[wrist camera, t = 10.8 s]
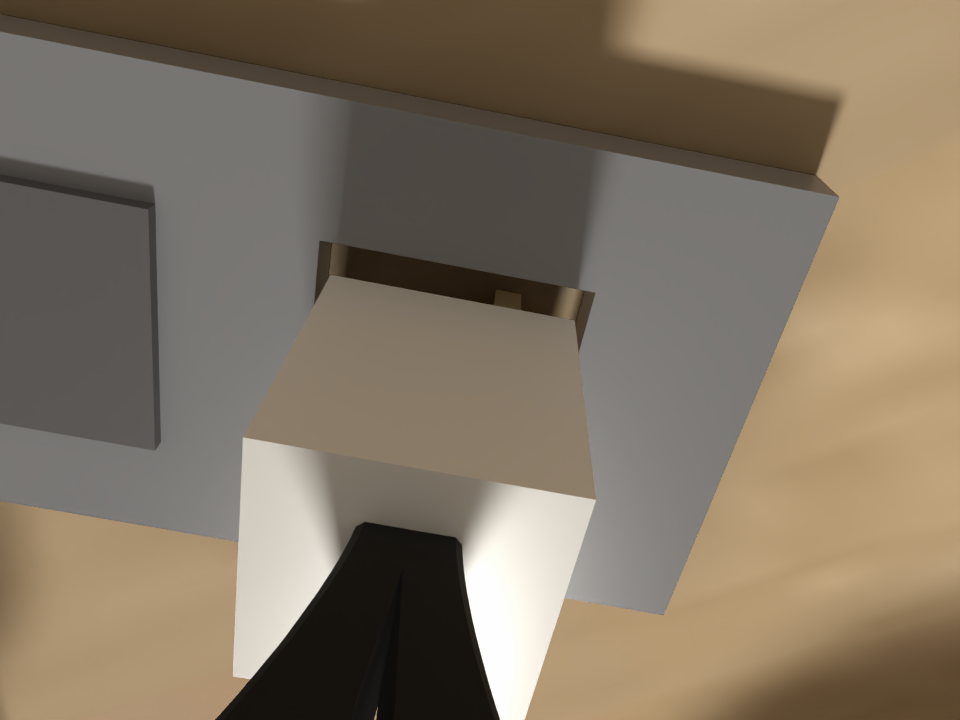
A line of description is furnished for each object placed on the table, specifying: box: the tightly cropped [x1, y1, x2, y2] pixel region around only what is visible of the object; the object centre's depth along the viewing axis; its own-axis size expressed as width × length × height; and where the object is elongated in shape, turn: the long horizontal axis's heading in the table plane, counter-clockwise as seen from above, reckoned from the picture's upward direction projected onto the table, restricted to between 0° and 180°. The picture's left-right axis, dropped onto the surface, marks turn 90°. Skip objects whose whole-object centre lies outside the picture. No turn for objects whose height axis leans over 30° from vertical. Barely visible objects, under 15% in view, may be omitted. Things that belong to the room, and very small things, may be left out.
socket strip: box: [0, 14, 839, 615], centre depth 16 cm, size 10×20×2 cm, turn 80°
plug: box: [233, 275, 596, 720], centre depth 14 cm, size 4×4×7 cm
